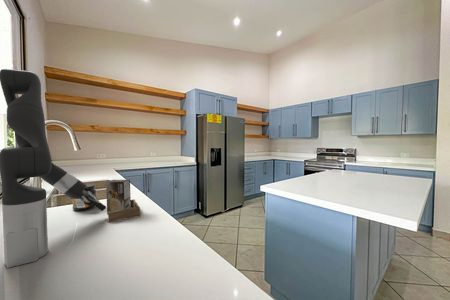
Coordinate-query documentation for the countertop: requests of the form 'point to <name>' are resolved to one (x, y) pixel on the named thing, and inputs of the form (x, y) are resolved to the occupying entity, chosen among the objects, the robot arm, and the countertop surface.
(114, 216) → the walnut pen
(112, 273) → the countertop surface
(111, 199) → the coffee box
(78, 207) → the supplement container
